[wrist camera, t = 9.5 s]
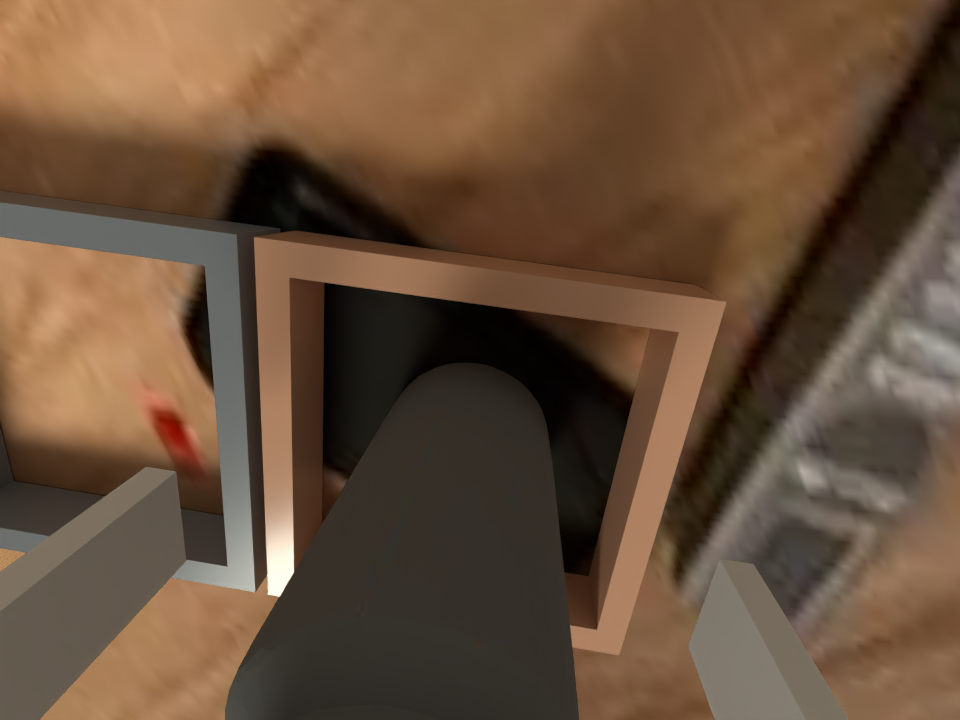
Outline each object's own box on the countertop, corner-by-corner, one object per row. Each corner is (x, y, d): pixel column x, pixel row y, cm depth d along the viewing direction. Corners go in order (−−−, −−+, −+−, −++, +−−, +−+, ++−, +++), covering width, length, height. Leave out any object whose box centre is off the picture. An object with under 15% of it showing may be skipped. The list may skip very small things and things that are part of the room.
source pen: (-4, 496, 21) (-72, 535, 18) (-89, 178, 16) (-193, 176, 14) (287, 545, 20) (255, 592, 18) (280, 228, 16) (236, 234, 13)
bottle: (406, 341, 16) (-290, 1258, 2) (570, 384, 16) (853, 1543, 2) (377, 479, 18) (-87, 1417, 4) (523, 517, 18) (528, 1569, 4)
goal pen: (298, 547, 20) (268, 594, 18) (294, 230, 16) (253, 237, 13) (608, 599, 19) (619, 655, 17) (695, 284, 15) (726, 301, 13)
